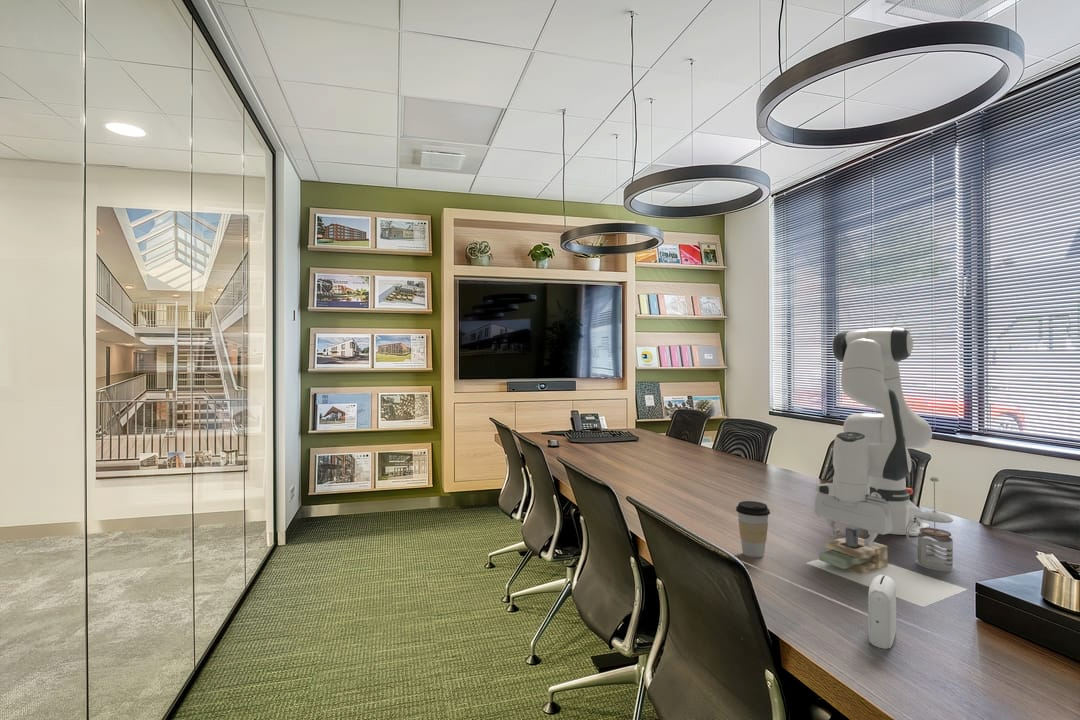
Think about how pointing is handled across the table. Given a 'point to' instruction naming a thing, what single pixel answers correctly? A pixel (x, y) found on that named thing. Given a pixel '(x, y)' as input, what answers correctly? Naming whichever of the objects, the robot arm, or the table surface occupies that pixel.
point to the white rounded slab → (882, 611)
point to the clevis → (855, 556)
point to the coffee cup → (753, 527)
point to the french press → (942, 536)
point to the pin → (852, 537)
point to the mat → (900, 582)
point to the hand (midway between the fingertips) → (851, 540)
